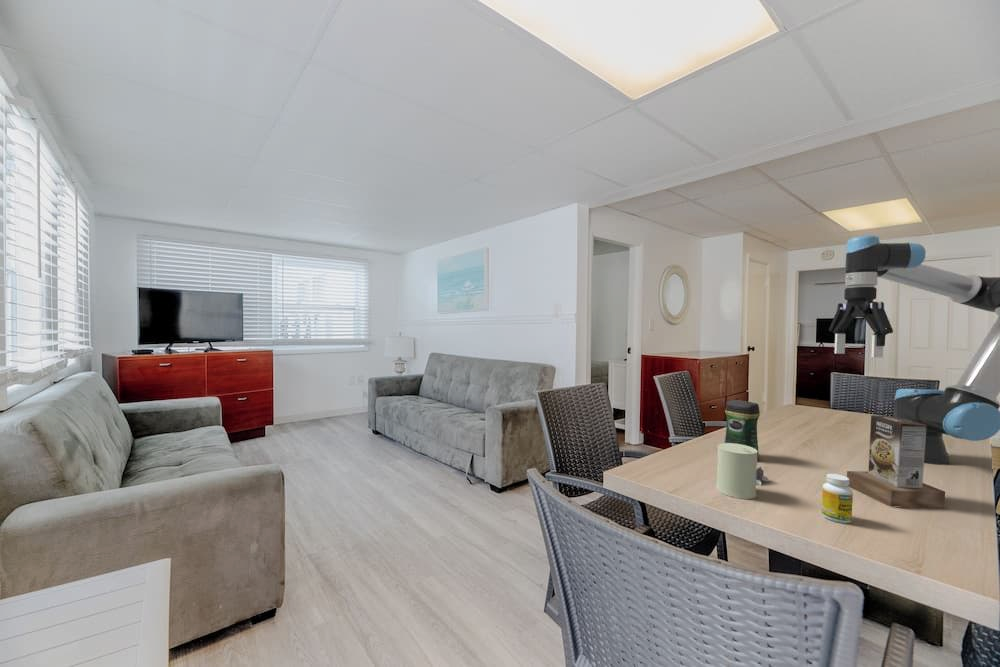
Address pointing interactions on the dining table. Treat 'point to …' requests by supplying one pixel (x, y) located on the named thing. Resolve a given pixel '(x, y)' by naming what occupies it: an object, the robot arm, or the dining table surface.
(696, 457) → the dining table surface
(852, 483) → the walnut stand
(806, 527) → the dining table surface
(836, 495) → the supplement bottle
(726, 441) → the coffee jar
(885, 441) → the cookie box
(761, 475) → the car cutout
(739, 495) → the can
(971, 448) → the dining table surface
